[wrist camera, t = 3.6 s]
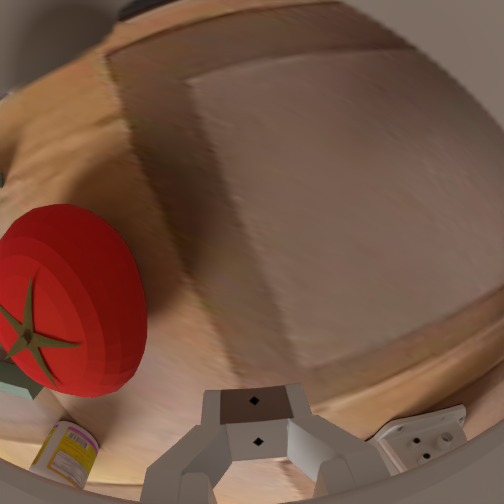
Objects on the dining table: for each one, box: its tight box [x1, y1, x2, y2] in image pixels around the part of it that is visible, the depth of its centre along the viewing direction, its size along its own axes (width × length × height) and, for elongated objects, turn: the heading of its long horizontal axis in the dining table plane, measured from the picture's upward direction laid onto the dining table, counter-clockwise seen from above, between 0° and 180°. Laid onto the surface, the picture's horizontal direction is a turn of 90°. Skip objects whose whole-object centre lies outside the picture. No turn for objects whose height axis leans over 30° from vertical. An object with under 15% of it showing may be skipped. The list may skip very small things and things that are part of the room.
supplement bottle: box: [29, 421, 99, 490], centre depth 20 cm, size 7×7×13 cm
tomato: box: [0, 204, 147, 397], centre depth 17 cm, size 14×13×10 cm
